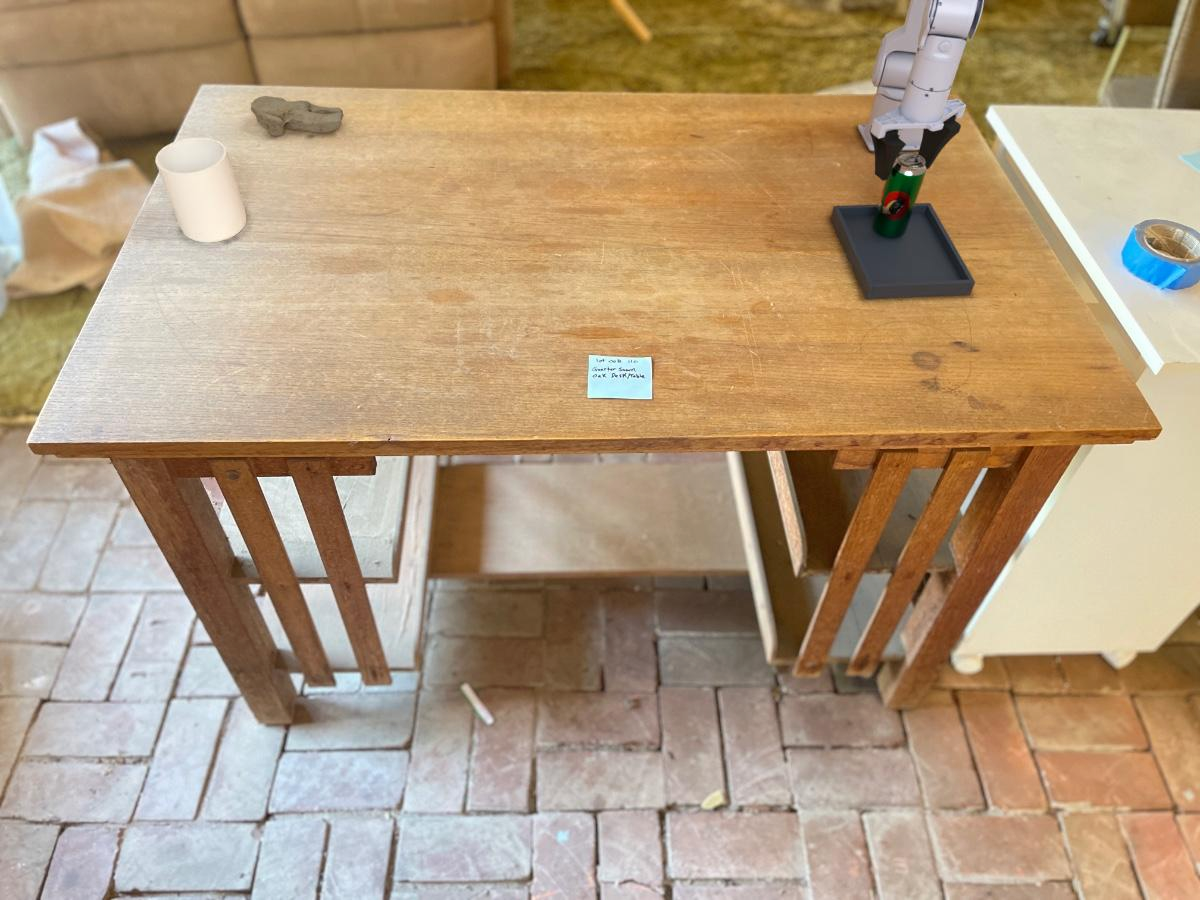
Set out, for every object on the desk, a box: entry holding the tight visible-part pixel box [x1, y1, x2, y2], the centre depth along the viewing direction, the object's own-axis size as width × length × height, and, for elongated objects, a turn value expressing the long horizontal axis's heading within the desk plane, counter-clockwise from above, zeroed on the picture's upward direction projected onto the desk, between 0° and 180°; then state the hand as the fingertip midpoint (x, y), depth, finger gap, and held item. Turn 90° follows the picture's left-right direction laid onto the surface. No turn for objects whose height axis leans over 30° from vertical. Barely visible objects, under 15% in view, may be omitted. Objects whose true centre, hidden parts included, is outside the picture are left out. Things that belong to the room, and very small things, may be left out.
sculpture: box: [250, 95, 344, 137], centre depth 154 cm, size 7×5×15 cm
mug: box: [154, 136, 247, 244], centre depth 133 cm, size 10×12×12 cm
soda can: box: [873, 151, 927, 238], centre depth 135 cm, size 5×5×12 cm
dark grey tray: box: [830, 202, 976, 300], centre depth 136 cm, size 15×19×2 cm
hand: (902, 171), depth 133 cm, fingers open, 7 cm apart
